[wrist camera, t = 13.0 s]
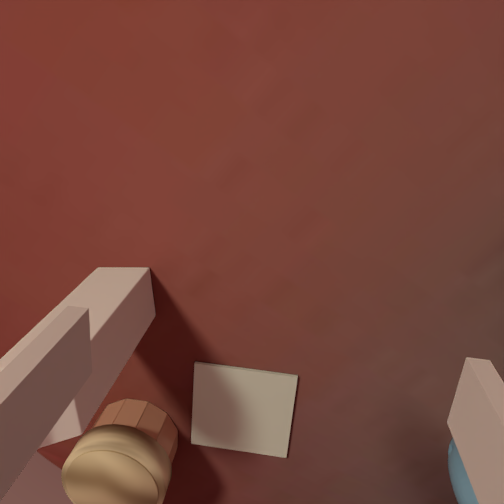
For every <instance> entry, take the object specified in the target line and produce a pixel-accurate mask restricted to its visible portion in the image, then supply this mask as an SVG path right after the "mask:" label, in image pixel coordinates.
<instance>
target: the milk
mask: <svg viewBox="0 0 504 504" xmlns="http://www.w3.org/2000/svg"><path fill="white" fill-rule="evenodd" d="M67 306H75V307H83V308H89V322H90V340H91V359H92V374H91V375H90V376H89V378H88V379H87V381H86V382H85V383H84V385H83V386H82V388H81V389H80V390H79V392H78V393H77V395H76V396H75V397H74V399H73V400H72V402H71V403H70V404H69V406H68V407H67V409H66V410H65V411H64V413H63V414H62V416H61V417H60V418H59V420H58V421H57V423H56V424H55V425H54V427H53V428H52V430H51V431H50V432H49V434H48V435H47V437H46V438H45V439H44V441H43V442H42V444H41V445H40V447H39V448H41V447H44V446H47V445H50V444H54V443H57V442H60V441H63V440H66V439H70V438H73V437H76V436H79V435H81V434H82V433H83V432H84V430H85V429H86V427H87V425H88V424H89V422H90V421H91V419H92V417H93V416H94V414H95V413H96V411H97V409H98V408H99V406H100V404H101V403H102V401H103V400H104V398H105V396H106V395H107V393H108V392H109V390H110V388H111V387H112V385H113V384H114V382H115V380H116V379H117V377H118V375H119V374H120V372H121V371H122V369H123V367H124V366H125V364H126V363H127V361H128V359H129V358H130V356H131V355H132V353H133V351H134V350H135V348H136V347H137V345H138V343H139V342H140V340H141V338H142V337H143V335H144V334H145V332H146V330H147V329H148V327H149V326H150V324H151V322H152V321H153V319H154V318H155V316H156V313H155V305H154V298H153V290H152V283H151V275H150V268H142V267H98V268H97V269H96V270H95V271H94V272H93V273H91V274H90V275H89V276H88V277H87V278H86V279H85V280H84V281H83V282H82V283H81V284H80V285H79V286H78V287H77V288H76V289H74V290H73V291H72V292H71V293H70V294H69V295H68V296H67V297H66V298H65V299H64V300H63V301H62V302H61V303H60V304H59V305H57V306H56V307H55V308H54V309H53V310H52V311H51V312H50V313H49V314H48V315H47V316H46V317H45V318H44V319H43V320H42V321H40V322H39V323H38V324H37V325H36V326H35V327H34V328H33V329H32V330H31V331H30V332H29V333H28V334H27V335H26V336H25V337H23V338H22V339H21V340H20V341H19V342H18V343H17V344H16V345H15V346H14V347H13V348H12V349H11V350H10V351H9V352H8V353H6V354H5V355H4V356H3V357H2V358H1V359H0V372H1V371H2V370H3V369H4V368H5V367H6V366H7V365H8V364H9V363H10V362H11V361H12V360H13V359H14V358H15V357H16V356H17V355H18V354H19V353H20V352H21V351H22V350H23V349H24V348H25V347H27V346H28V345H29V344H30V343H31V342H32V341H33V340H34V339H35V338H36V337H37V336H38V335H39V334H40V333H41V332H42V331H43V330H44V329H45V328H46V327H47V326H48V325H49V324H50V323H51V322H52V321H53V320H54V319H55V318H56V317H57V316H58V315H59V314H60V313H61V312H62V311H63V310H64V309H65V308H66V307H67Z"/></svg>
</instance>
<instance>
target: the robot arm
mask: <svg viewBox="0 0 504 504" xmlns="http://www.w3.org/2000/svg"><path fill="white" fill-rule="evenodd" d="M91 374H92V359H91V340H90V322H89V308H83V307H75V306H67V307H66V308H65V309H64V310H63V311H62V312H61V313H60V314H59V315H58V316H57V317H56V318H55V319H54V320H53V321H52V322H51V323H50V324H49V325H48V326H47V327H46V328H45V329H44V330H43V331H42V332H41V333H40V334H39V335H38V336H37V337H36V338H35V339H34V340H33V341H32V342H31V343H30V344H29V345H28V346H27V347H25V348H24V349H23V350H22V351H21V352H20V353H19V354H18V355H17V356H16V357H15V358H14V359H13V360H12V361H11V362H10V363H9V364H8V365H7V366H6V367H5V368H4V369H3V370H2V371H1V372H0V501H1V500H2V498H3V497H4V496H5V494H6V493H7V491H8V490H9V489H10V487H11V486H12V484H13V483H14V482H15V480H16V479H17V477H18V476H19V475H20V473H21V472H22V470H23V469H24V468H25V466H26V465H27V463H28V462H29V460H30V459H31V458H32V456H33V455H34V453H35V452H36V451H37V449H38V448H39V447H40V445H41V444H42V442H43V441H44V439H45V438H46V437H47V435H48V434H49V432H50V431H51V430H52V428H53V427H54V425H55V424H56V423H57V421H58V420H59V418H60V417H61V416H62V414H63V413H64V411H65V410H66V409H67V407H68V406H69V404H70V403H71V402H72V400H73V399H74V397H75V396H76V395H77V393H78V392H79V390H80V389H81V388H82V386H83V385H84V383H85V382H86V381H87V379H88V378H89V376H90V375H91ZM447 423H448V426H449V429H450V431H451V434H452V436H453V438H452V439H451V442H450V444H449V450H448V470H449V475H450V480H451V484H452V487H453V490H454V493H455V496H456V499H457V502H458V504H504V382H503V381H502V379H501V378H500V376H499V374H498V373H497V371H496V370H495V368H494V366H493V365H492V363H491V361H490V360H484V359H476V358H469V357H466V360H465V363H464V367H463V370H462V373H461V377H460V380H459V384H458V387H457V390H456V394H455V397H454V400H453V404H452V407H451V411H450V414H449V417H448V421H447Z"/></svg>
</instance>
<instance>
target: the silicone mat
mask: <svg viewBox="0 0 504 504" xmlns="http://www.w3.org/2000/svg"><path fill="white" fill-rule="evenodd" d="M297 379H298V375H292V374H285V373H277V372H270V371H263V370H255V369H248V368H240V367H233V366H226V365H218V364H211V363H204V362H196V361H195V363H194V384H193V407H192V431H191V444H197V445H204V446H210V447H217V448H224V449H230V450H237V451H244V452H250V453H257V454H264V455H270V456H277V457H284V458H286V457H287V450H288V443H289V436H290V429H291V422H292V414H293V407H294V400H295V393H296V386H297Z"/></svg>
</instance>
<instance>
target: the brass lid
mask: <svg viewBox="0 0 504 504" xmlns="http://www.w3.org/2000/svg"><path fill="white" fill-rule="evenodd" d="M171 475H172V467H171V462H170V459H169V457H168V455H167V453H166V451H165V450H164V449H163V447H162V446H161V445H160V444H159V443H158V442H157V441H156V440H155V439H154V438H152V437H151V436H149V435H148V434H146V433H144V432H143V431H141V430H138V429H136V428H133V427H130V426H125V425H119V424H107V425H101V426H97V427H95V428H92V429H90V430H89V431H87V432H86V433H85V434H83V435H82V437H81V438H80V439H79V441H78V442H77V444H76V446H75V447H74V449H73V450H72V452H71V454H70V455H69V457H68V458H67V460H66V462H65V464H64V466H63V469H62V475H61V476H62V484H63V487H64V490H65V492H66V494H67V496H68V497H69V499H70V500H71V501H72V502H73V503H74V504H162V503H163V500H164V498H165V495H166V492H167V489H168V486H169V483H170V479H171Z"/></svg>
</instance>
